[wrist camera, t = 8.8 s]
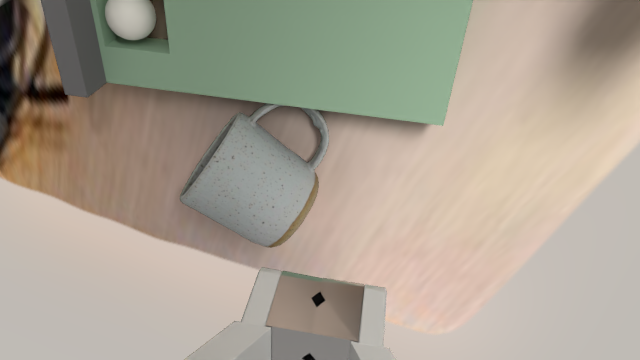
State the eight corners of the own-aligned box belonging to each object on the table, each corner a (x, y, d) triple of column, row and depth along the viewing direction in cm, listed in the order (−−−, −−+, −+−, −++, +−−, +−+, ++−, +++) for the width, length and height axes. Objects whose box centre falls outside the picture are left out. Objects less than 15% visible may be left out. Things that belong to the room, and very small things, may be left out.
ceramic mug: (280, 212, 42) (259, 276, 36) (200, 159, 40) (162, 216, 34) (357, 130, 37) (348, 188, 30) (269, 64, 35) (239, 111, 28)
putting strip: (62, -84, 31) (10, -73, 27) (476, -44, 29) (487, -25, 25) (94, 65, 37) (55, 93, 33) (441, 108, 34) (445, 144, 30)
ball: (121, -20, 33) (90, -9, 30) (163, -11, 32) (135, 1, 30) (127, 27, 35) (98, 41, 32) (167, 36, 34) (141, 51, 32)
